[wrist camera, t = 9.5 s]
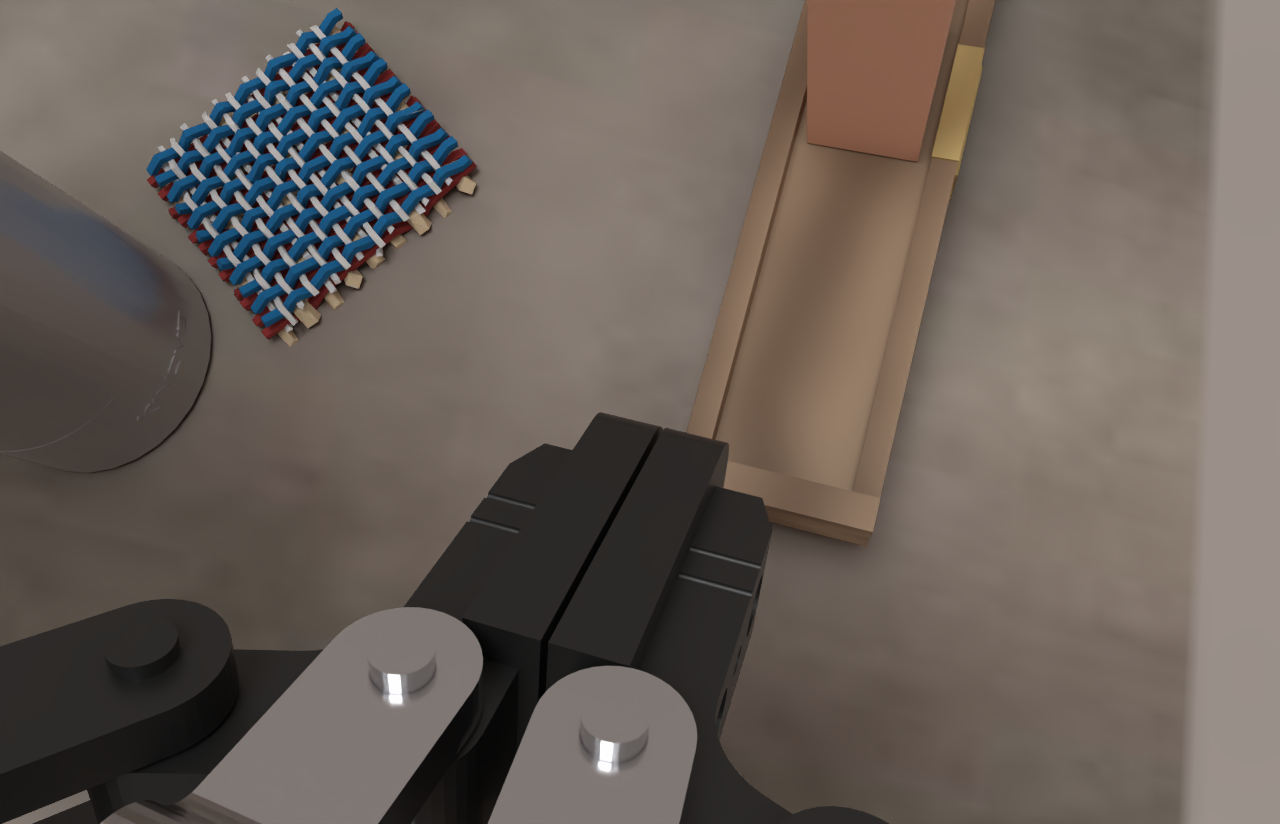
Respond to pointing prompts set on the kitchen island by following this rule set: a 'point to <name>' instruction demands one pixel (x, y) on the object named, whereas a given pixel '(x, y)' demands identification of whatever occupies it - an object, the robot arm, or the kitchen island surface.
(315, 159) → the woven mat
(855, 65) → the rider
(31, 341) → the robot arm
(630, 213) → the kitchen island surface
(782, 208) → the beam
